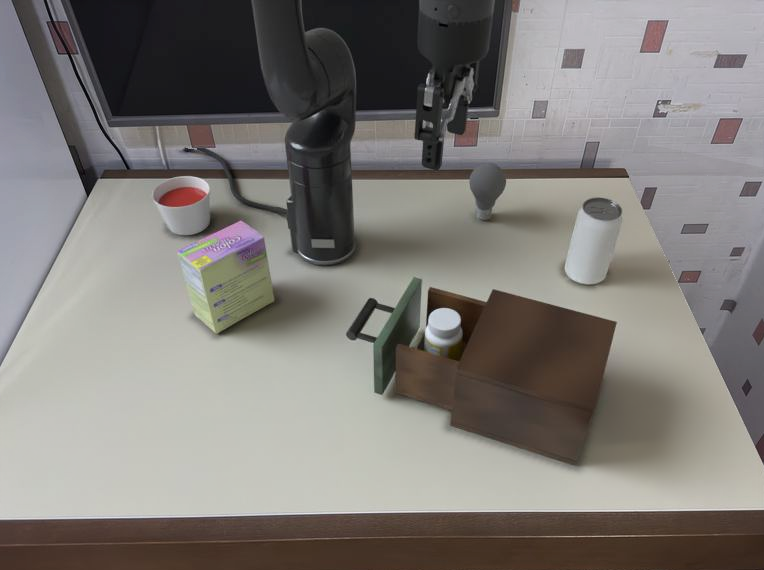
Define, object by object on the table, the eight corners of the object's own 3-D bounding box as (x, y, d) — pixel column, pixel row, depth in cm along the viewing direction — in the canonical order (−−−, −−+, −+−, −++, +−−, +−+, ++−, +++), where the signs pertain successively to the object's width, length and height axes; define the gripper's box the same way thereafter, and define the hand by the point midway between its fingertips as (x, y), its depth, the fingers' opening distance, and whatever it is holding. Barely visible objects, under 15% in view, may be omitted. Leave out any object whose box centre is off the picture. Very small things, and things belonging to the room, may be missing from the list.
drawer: (337, 381, 88) (333, 332, 82) (377, 314, 97) (377, 266, 90) (482, 427, 83) (490, 379, 77) (511, 353, 92) (520, 305, 86)
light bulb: (463, 208, 117) (468, 156, 110) (496, 206, 118) (504, 155, 110) (469, 228, 113) (474, 176, 106) (504, 227, 114) (512, 174, 106)
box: (252, 283, 103) (240, 218, 94) (275, 301, 100) (265, 236, 91) (193, 315, 98) (175, 250, 89) (216, 335, 95) (199, 270, 86)
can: (605, 289, 103) (625, 224, 94) (563, 283, 104) (579, 218, 95) (605, 262, 107) (624, 198, 99) (564, 257, 108) (580, 193, 99)
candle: (200, 244, 109) (192, 211, 104) (151, 234, 111) (140, 201, 106) (226, 213, 115) (219, 181, 110) (178, 204, 117) (170, 172, 112)
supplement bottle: (458, 351, 90) (463, 305, 84) (461, 378, 87) (466, 332, 81) (422, 351, 90) (424, 305, 84) (424, 378, 87) (426, 332, 81)
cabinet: (449, 425, 84) (456, 367, 77) (484, 347, 94) (492, 288, 86) (574, 465, 81) (594, 409, 73) (597, 379, 90) (617, 321, 82)
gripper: (445, -24, 73) (435, 115, 85) (394, 22, 64) (391, 172, 76) (511, -13, 71) (492, 128, 83) (469, 37, 62) (454, 188, 74)
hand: (444, 149), depth 79 cm, fingers open, 8 cm apart
